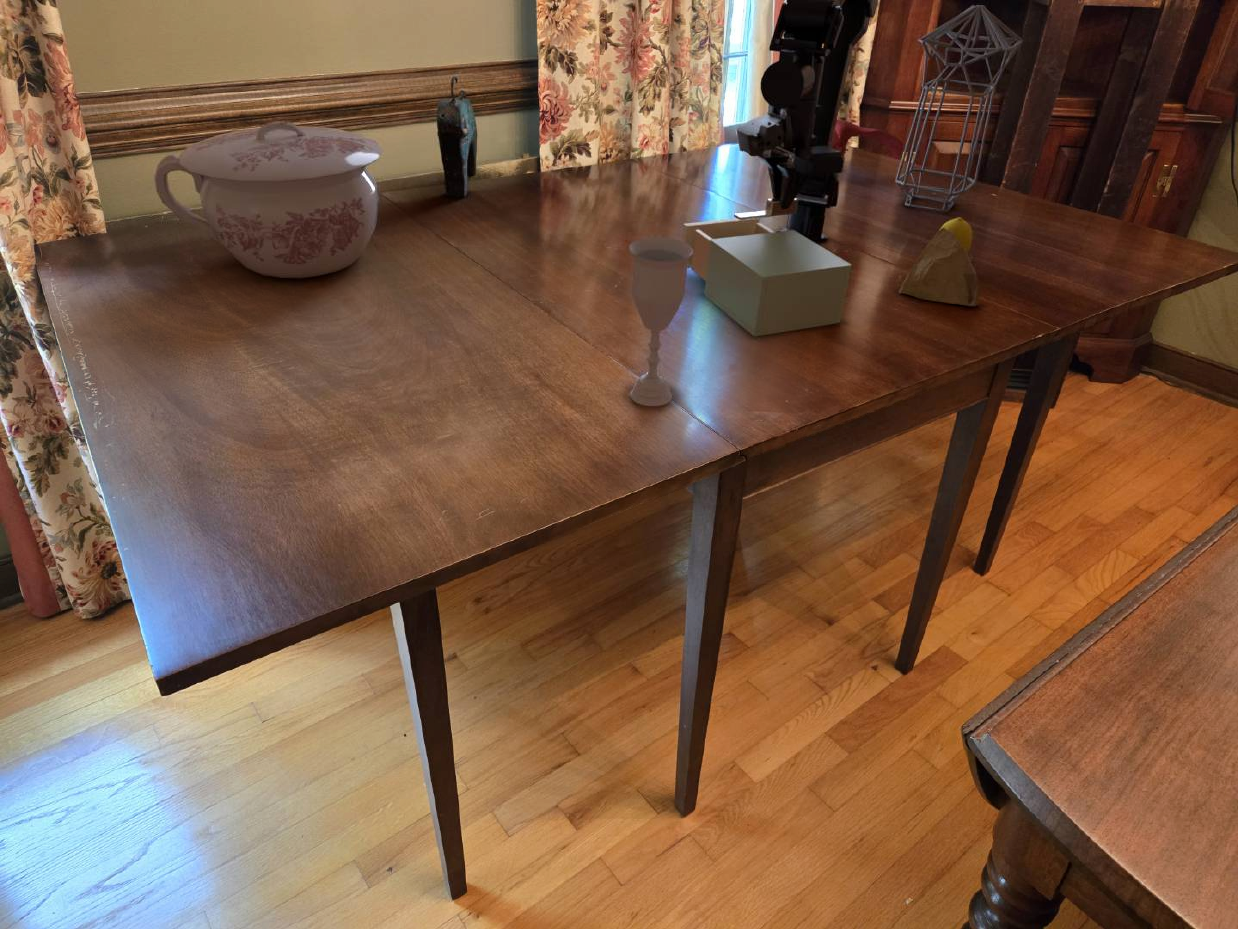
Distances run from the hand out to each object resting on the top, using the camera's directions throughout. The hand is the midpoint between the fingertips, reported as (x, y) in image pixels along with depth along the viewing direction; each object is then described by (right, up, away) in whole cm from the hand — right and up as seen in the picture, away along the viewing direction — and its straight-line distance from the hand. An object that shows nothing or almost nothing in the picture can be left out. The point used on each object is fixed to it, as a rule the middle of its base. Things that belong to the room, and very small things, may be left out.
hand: (781, 206), depth 125 cm
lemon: (+30, -6, +13) cm, 33 cm away
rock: (+24, -14, +1) cm, 28 cm away
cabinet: (-3, -16, -5) cm, 17 cm away
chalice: (-21, -31, -27) cm, 46 cm away
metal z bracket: (-2, -1, 0) cm, 3 cm away
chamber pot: (-73, -8, +3) cm, 74 cm away
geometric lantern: (+37, +12, +39) cm, 55 cm away
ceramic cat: (-56, +16, +39) cm, 70 cm away
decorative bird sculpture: (+23, +28, +60) cm, 70 cm away
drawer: (-7, -9, +4) cm, 12 cm away
